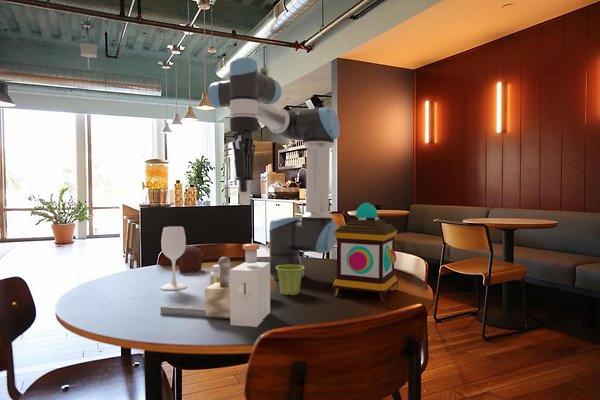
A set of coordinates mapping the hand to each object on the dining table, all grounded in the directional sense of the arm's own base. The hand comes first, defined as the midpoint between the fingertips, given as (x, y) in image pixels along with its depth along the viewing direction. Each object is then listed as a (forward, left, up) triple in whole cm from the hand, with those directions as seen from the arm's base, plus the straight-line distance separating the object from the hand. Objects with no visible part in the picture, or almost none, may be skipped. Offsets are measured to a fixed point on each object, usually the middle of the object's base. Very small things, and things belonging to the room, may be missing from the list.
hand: (245, 203), depth 113 cm
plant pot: (-15, -20, -30) cm, 39 cm away
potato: (-3, -12, -30) cm, 33 cm away
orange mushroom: (-1, +5, -16) cm, 16 cm away
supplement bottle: (+8, -20, -30) cm, 37 cm away
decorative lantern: (-40, -17, -31) cm, 53 cm away
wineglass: (+24, -33, -30) cm, 51 cm away
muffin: (+22, -63, -30) cm, 73 cm away
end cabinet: (-1, +5, -30) cm, 31 cm away
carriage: (+6, +3, -29) cm, 30 cm away
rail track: (+12, 0, -30) cm, 33 cm away
